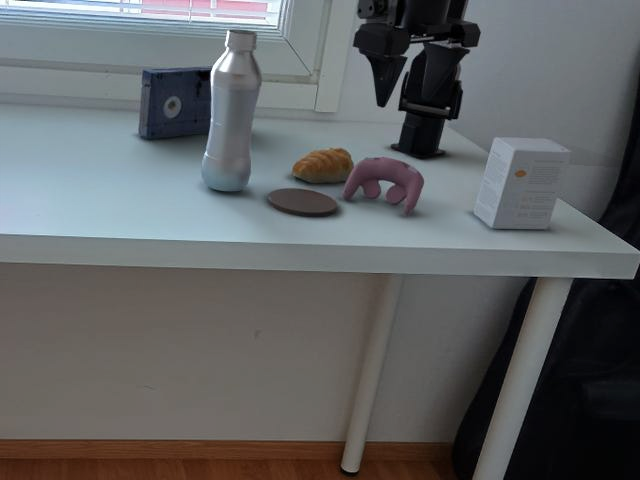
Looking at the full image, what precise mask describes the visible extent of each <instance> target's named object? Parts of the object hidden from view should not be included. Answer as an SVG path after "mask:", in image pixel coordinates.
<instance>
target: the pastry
mask: <svg viewBox="0 0 640 480" xmlns="http://www.w3.org/2000/svg"><path fill="white" fill-rule="evenodd" d="M354 167H355V163H354V161H353V159H352V155H351V153H350V152H349V151H348V150H346V149H344V148H342V147H336V148H334V147H329V149H320V150H313V151H310V152H309V153H308V154H307V155H305V156H304V157H301V158H299V160H297V161H296V162H295V163H294V164H293V165H292V171H291V176H292V177H293V176H294V177H295V178H298V179H301V180H303V181H306V182H308V183H311V184H314V185H315V184H316V185H317V184H328V183H329V184H330V183H332V184H333V183H340V182H341V181H343V182H347V180H348V177H349V175H350V174H351V172H352V170H353V168H354Z"/></svg>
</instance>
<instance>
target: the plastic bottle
mask: <svg viewBox="0 0 640 480" xmlns="http://www.w3.org/2000/svg"><path fill="white" fill-rule="evenodd" d="M257 41H258V33H257V32H256V31H252V30H249V29H242V28H241V29H239V28H238V29H237V28H233V29H231V28H230V29H228V30H227V34H226V40H225V42H224V46H225V48H226V50H225V52H224V53H223V54H222V55H221V57H219V59H218V60H217V61H216V62H215V64H214V65H213V66H214V67H213V69H212V72H211V99H212V106H211V116H212V117H211V125H210V131H209V133H208V137H207V141H206V148H205V151H204V154H203V157H202V162H201V164H200V165H201V166H200V169H201V179H202V181H203V183H204V185H206V187H208V188H210V189H213V190H216V191H222V192H238V191H241V190H243V189H245V188H246V186H247V185H248V183H249V181H250V178H251V174H252V160H251V143H252V129H253V121H254V118H255V117H254V116H255V112H256V107H257V103H258V100H259V96H260V92H261V87H262V84H263V80H264V79H263V73H262V72H263V71H262V69H261V67H260V64H259V62H258V60H257V58H256V56H255V54H254V51H255V50H257V45H258V44H257Z"/></svg>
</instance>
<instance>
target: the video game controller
mask: <svg viewBox="0 0 640 480" xmlns="http://www.w3.org/2000/svg"><path fill="white" fill-rule="evenodd" d="M379 181H383V182H384V181H385V182H388V183H391V184H394V185H392V186H390V187H389V188H388V189H387V190H386V193H385V199H386V201H387V202H388V203H389V204H390V205H392V206H397V205H400V204H401V203H403V201H404V205H403V213H404V215H406V216H409V215H410V214H412V213H413V212H414V210H415V208H416V207H417V204H418V202H419V199H420V197H421V194H422V191H423V188H424V186H425V185H424V184H425V180H424V177H423V175H422V174H421V172H420V171H419V170H418V169H417V168H416V167H415V166H413V165H411V164H408V163H407V162H404V161H402V160H400V159H395V158H391V157H385V156H380V157H369V156H366V157H364V158H363V159H362V160H360V161H358V162H357V163H356V164H354V168H353V170H352V172H351V174H350V175H349V177H348V180H347V181H345V185H344V187H343V190H342V199H343V200H344V201H349V200H351V198H352V197H354V195H355V194H356V192H357V191H358V189H360V187H361V189H362V192H363V195H364V197H366V198H367V199H369V200H376V199H377V198H379V197H380V196H381V192H382V187H381V185H380V182H379Z"/></svg>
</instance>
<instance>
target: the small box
mask: <svg viewBox="0 0 640 480" xmlns="http://www.w3.org/2000/svg"><path fill="white" fill-rule="evenodd" d="M492 140H493V141H492V144H491V146H490V147H491V148H490V151H489V155H488V159H487V162H486V166H485V169H484V173H483V177H482V180H481V183H480V187H479V191H478V194H477V199H476V202H475V204H474V205H475V206H474V209H473V215H474V216H476V217H477V218H479V220H481V221H482V222H483V223H485V224H486V225H487V226H488V227H490V228H491V229H492V230H493V229H494V230H495V229H496V230H547V229H548V228H549V224H550V221H551V218H552V215H553V213H554V209H555V206H556V203H557V200H558V196H559V194H560V191H561V188H562V185H563V182H564V178H565V175H566V173H567V169H568V166H569V164H570V161H571V157H572V154H573V152H572V150H570V149H568V148H566V147H564V146H563V145H561V144H559V143H558V142H555V141H554V140H552V139H550V138H535V137H534V138H533V137H508V136H507V137H504V136H503V137H502V136H495V137H493V139H492Z"/></svg>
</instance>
